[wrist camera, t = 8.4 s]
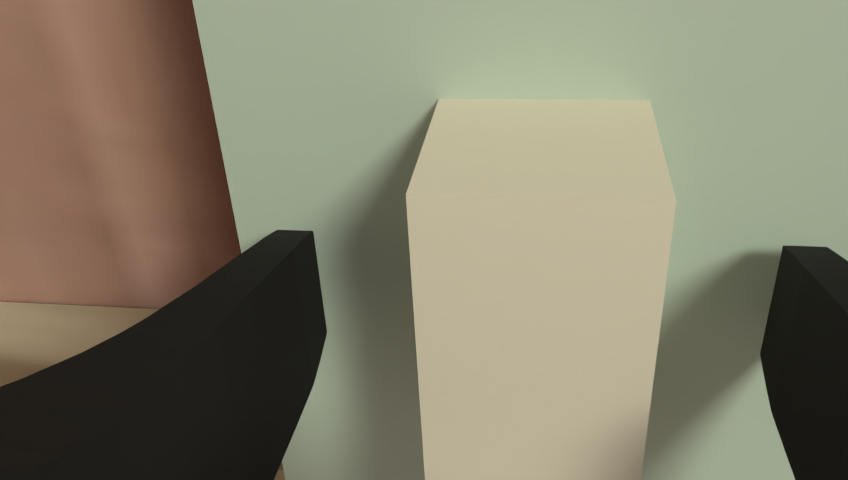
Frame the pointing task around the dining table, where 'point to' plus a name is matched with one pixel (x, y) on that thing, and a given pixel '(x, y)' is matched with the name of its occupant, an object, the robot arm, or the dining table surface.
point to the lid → (536, 221)
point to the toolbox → (58, 335)
